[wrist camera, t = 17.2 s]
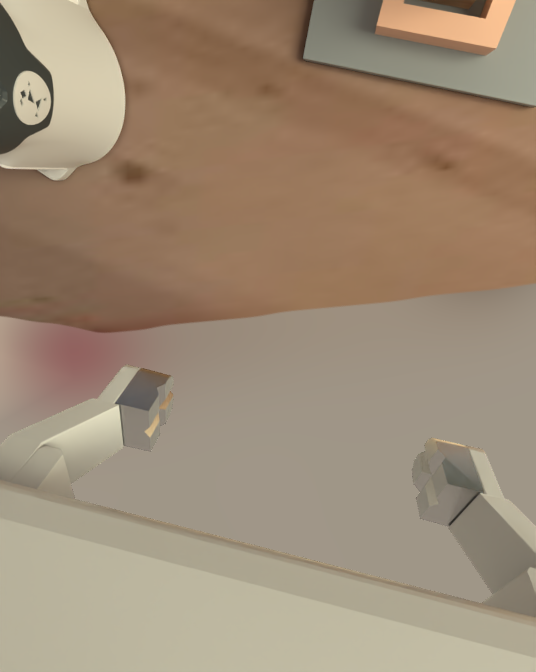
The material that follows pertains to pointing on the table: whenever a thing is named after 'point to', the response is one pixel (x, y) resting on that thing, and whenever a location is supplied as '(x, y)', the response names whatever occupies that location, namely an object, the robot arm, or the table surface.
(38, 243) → the table surface
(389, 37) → the socket board
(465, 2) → the oak post
